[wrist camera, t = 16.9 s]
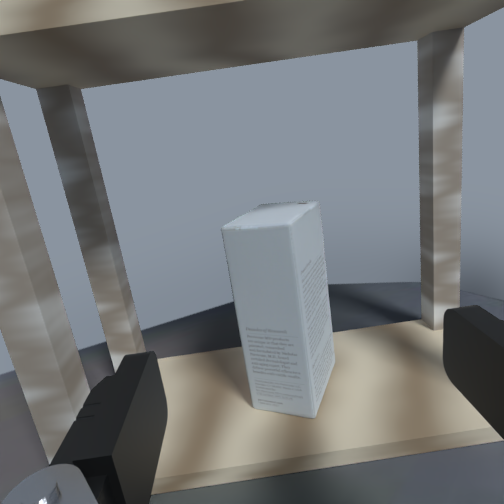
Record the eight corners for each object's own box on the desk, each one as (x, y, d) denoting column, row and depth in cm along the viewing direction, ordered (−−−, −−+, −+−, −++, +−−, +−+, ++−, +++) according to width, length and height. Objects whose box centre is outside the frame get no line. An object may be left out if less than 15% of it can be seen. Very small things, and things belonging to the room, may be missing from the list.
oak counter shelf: (65, 508, 20) (-119, 3, 13) (126, 374, 31) (44, 69, 25) (567, 430, 20) (628, -103, 14) (445, 326, 32) (446, 11, 25)
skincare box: (280, 357, 29) (260, 203, 25) (336, 363, 27) (322, 199, 24) (249, 410, 24) (217, 225, 20) (315, 423, 22) (293, 222, 18)
